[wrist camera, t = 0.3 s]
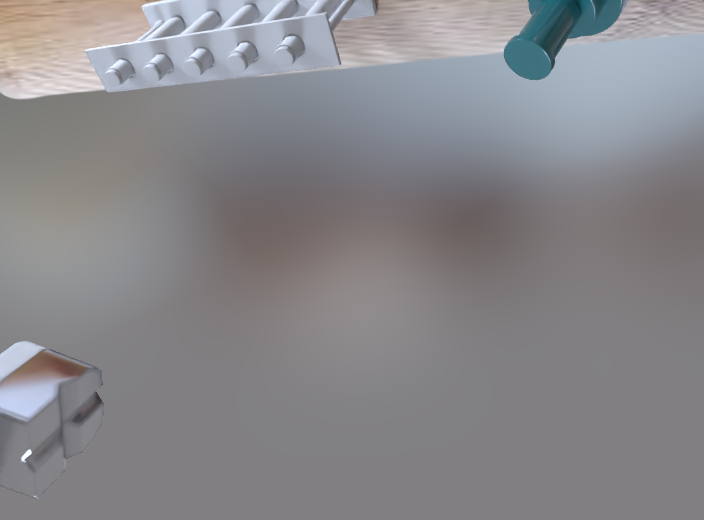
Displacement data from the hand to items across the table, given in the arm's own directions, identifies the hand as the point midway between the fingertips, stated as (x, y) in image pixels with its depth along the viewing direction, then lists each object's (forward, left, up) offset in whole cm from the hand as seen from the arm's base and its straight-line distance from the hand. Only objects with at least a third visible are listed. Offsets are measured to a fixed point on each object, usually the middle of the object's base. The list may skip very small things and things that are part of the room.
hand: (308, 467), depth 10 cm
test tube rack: (+28, -9, -51) cm, 59 cm away
